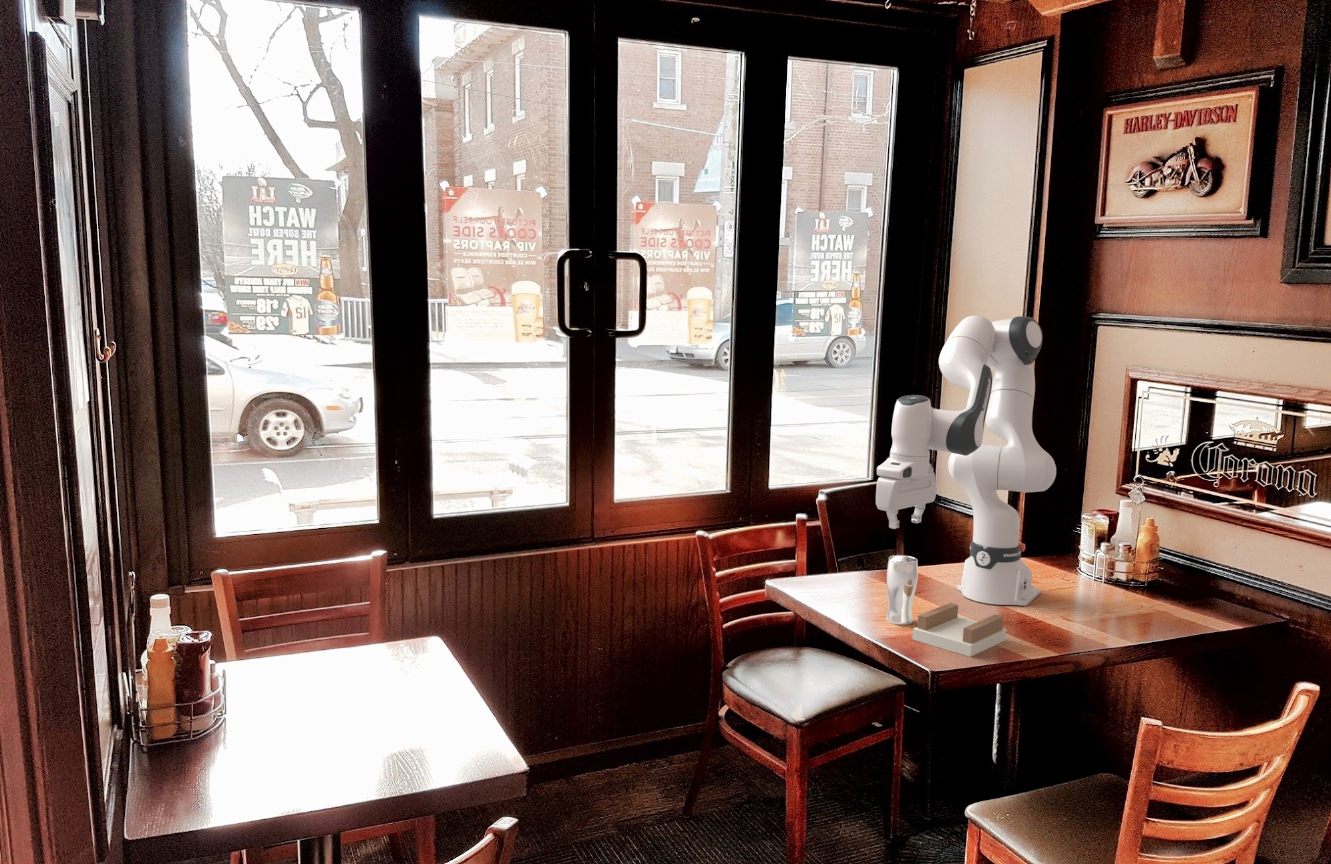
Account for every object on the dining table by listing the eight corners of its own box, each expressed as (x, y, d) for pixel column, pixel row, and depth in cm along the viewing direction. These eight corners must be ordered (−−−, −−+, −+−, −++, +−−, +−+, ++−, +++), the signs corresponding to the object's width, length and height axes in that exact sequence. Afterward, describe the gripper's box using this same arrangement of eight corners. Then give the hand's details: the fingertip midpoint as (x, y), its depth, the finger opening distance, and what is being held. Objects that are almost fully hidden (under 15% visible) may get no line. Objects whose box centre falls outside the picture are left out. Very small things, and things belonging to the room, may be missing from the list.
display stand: (949, 624, 230) (950, 601, 229) (1005, 640, 220) (1007, 616, 219) (912, 639, 219) (913, 615, 218) (970, 657, 209) (972, 632, 208)
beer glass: (915, 627, 227) (919, 563, 225) (884, 624, 229) (888, 561, 227) (913, 617, 234) (917, 556, 232) (883, 614, 235) (887, 553, 233)
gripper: (921, 460, 236) (917, 517, 238) (872, 468, 222) (868, 528, 223) (944, 464, 231) (940, 521, 233) (896, 472, 217) (892, 533, 219)
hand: (905, 525), depth 228 cm, fingers open, 8 cm apart
